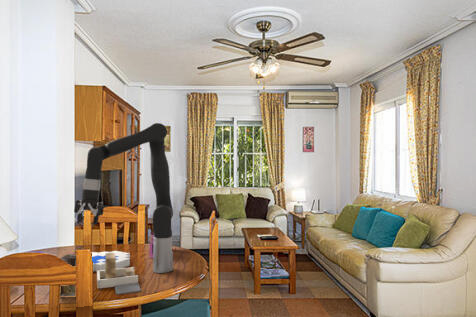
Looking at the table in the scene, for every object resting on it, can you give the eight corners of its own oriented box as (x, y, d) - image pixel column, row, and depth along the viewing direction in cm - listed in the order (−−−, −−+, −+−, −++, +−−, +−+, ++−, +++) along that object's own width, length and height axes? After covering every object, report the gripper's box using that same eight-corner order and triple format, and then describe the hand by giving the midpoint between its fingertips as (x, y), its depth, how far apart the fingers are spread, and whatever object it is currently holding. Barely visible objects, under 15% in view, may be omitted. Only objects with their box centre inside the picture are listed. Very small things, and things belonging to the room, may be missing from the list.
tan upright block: (114, 277, 165) (114, 252, 165) (115, 284, 155) (115, 257, 156) (105, 278, 163) (105, 253, 163) (105, 285, 154) (106, 258, 154)
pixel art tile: (140, 255, 193) (99, 268, 168) (140, 262, 193) (99, 276, 168) (105, 249, 206) (62, 260, 181) (104, 255, 206) (61, 267, 181)
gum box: (161, 259, 198) (162, 235, 198) (148, 259, 198) (148, 235, 199) (171, 249, 222) (171, 228, 222) (159, 249, 222) (159, 227, 223)
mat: (138, 283, 156) (138, 282, 156) (140, 291, 147) (140, 290, 147) (114, 286, 153) (114, 285, 153) (116, 294, 143) (116, 293, 143)
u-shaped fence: (134, 273, 171) (134, 266, 171) (137, 283, 157) (138, 275, 157) (97, 278, 164) (97, 270, 164) (97, 288, 150) (97, 280, 150)
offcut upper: (131, 272, 166) (131, 267, 167) (134, 276, 160) (134, 271, 160) (123, 273, 165) (124, 268, 165) (126, 277, 159) (127, 272, 159)
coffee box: (88, 292, 146) (89, 253, 146) (82, 298, 140) (82, 257, 140) (66, 292, 146) (67, 253, 146) (59, 298, 139) (59, 257, 140)
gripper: (109, 190, 167) (105, 224, 165) (84, 188, 170) (80, 221, 169) (99, 189, 159) (94, 225, 158) (73, 187, 163) (68, 222, 162)
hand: (87, 223), depth 163 cm, fingers open, 8 cm apart
